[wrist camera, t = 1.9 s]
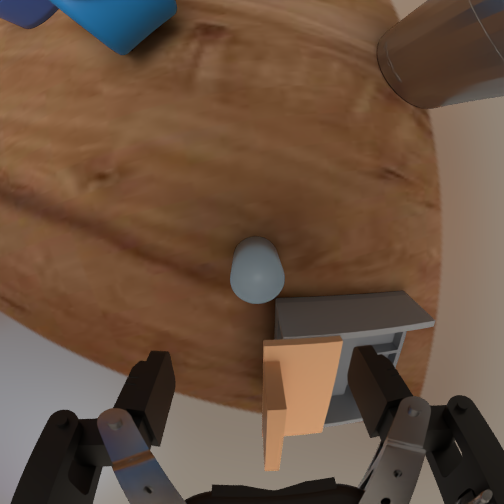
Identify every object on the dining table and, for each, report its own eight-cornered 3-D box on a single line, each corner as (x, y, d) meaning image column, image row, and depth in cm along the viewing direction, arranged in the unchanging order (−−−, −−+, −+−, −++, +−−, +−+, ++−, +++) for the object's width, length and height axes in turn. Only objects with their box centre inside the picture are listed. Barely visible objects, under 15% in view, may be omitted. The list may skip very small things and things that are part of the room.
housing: (403, 290, 27) (435, 320, 20) (380, 377, 30) (399, 412, 24) (275, 298, 27) (283, 337, 20) (272, 389, 30) (276, 431, 24)
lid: (340, 335, 20) (364, 385, 15) (320, 426, 24) (330, 470, 18) (263, 340, 20) (268, 394, 15) (261, 431, 24) (264, 477, 18)
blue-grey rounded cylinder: (271, 231, 25) (277, 247, 20) (282, 271, 26) (289, 296, 21) (227, 243, 25) (223, 262, 20) (240, 283, 26) (239, 309, 21)
